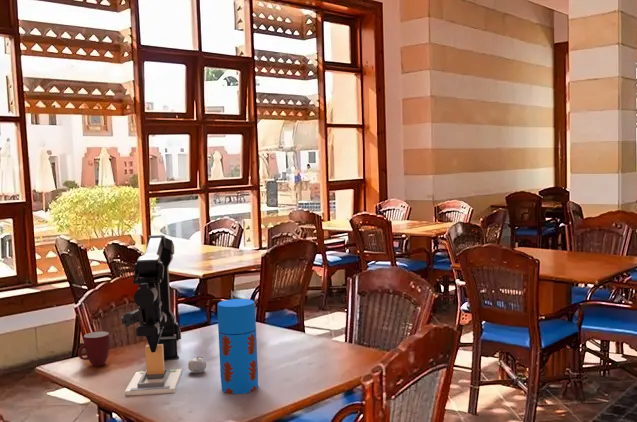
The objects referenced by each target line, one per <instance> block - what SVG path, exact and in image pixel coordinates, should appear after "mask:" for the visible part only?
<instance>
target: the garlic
mask: <svg viewBox="0 0 637 422" xmlns="http://www.w3.org/2000/svg"><path fill="white" fill-rule="evenodd" d="M203 358H204V356H202V355H198V356H197V357H194V358H192V359H190V360H189V361H188V366H187V368H188V369H189V371H190V372H191V373H193V374H201V373H203V372H205V370H206V368H207V362H206V360H204V359H203Z"/></svg>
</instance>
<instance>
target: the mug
mask: <svg viewBox="0 0 637 422" xmlns="http://www.w3.org/2000/svg"><path fill="white" fill-rule="evenodd" d="M84 349H85V353H86V357H83V355H82V352H83V350H84ZM109 352H110V333H109V332H108V331H93V332H89V333H85V334H84V336H83V344H82V345H80V347H78V351H77V355H78V358H79V359H80V360H82V361H83V360H84V361H89V362H90V364H91V365H92V366H93V367H100V366H104V365H105V364H106V363H107V359H108V357H109Z"/></svg>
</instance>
